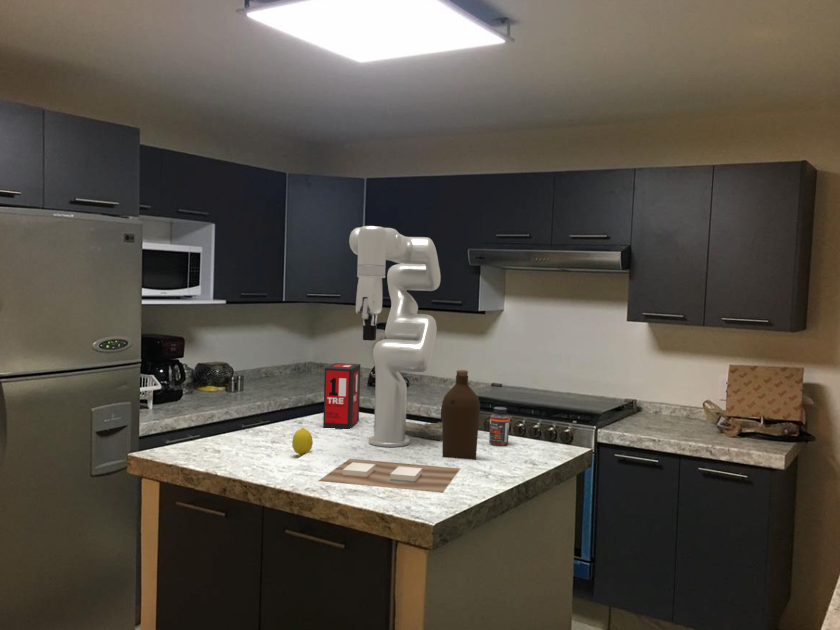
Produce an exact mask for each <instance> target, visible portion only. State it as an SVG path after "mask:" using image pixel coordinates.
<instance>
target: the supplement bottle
mask: <svg viewBox="0 0 840 630" xmlns="http://www.w3.org/2000/svg"><path fill="white" fill-rule="evenodd" d="M507 409H508V408H506V407H503V406H495V407H493V413H492V414H491V415H490V416H489V417H490V418H489V437H488V442H489V444H490V445H491V446H499V447H504V446H507V445H508V444H509V434H510V416H509V415H508V413H507V411H508V410H507Z"/></svg>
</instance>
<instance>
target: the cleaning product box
mask: <svg viewBox="0 0 840 630" xmlns="http://www.w3.org/2000/svg"><path fill="white" fill-rule="evenodd" d="M323 382H324V385H323V386H324V387H323V388H324V390H323V392H324V393H323V419H322V420H323V421H322V422H323V423H322V427H323V428H335V429H334V430H342V429H350V428H351V429H353V427H354V426H355V425H356V424H358V423H359V420H360V397H361V396H360V393H361V392H360V390H361V389H360V388H361V387H360V386H361V363H341V362H340V363H339V362H338V363H337V362H335V363H332V364H330V365H329V366H327V367H325V368H324V381H323ZM323 428H322V429H323ZM351 429H350V430H351Z"/></svg>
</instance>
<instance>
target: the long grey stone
mask: <svg viewBox="0 0 840 630" xmlns="http://www.w3.org/2000/svg"><path fill="white" fill-rule="evenodd" d="M405 436H411V437H420V438H424V439H429V440H431V441H432V440H436V441H439V442H443V438H442V421H441V422H440V421H438V422H436V423H435V422H432V423H419V422H418V423H417V422H410V421H406V427H405Z"/></svg>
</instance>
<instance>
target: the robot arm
mask: <svg viewBox="0 0 840 630" xmlns="http://www.w3.org/2000/svg"><path fill="white" fill-rule="evenodd" d="M348 242H349V248H350V249H351V251H352V253H353V254H355V255H356V256H357V274H356V277H357V278H358V281H357V282H358V283H357V289H356V300H355V313H356V314H358V315H360V314H361V318H362V324H363V325H362V340H363V341H372V342H373V341H376V339H377V319H378V314H381V312H382V311H383V279H385V278H386V277H387V280H386V281H387V286H388V287H387V288H388V293H389V297H390V302H391V304H390V305H391V307H390V310H389V314H388V318H387V321H386V324H385V330H384V331H385V333H384V334H385V338H386V339H381V340H379V341H377V342H376V344H374V346H373V350H372V351H373V353H372V354H373V362H374V363H373V364H374V371H375V372H374V373H375V385H374V386H375V387H374V388H375V394H374V420H373V423H374V425H373V426H374V429H373V436H371V437H369V438H368V443H369V444H370V445H373V446H376V447H377V446H378V447H386V448H387V447H388V448H393V447H394V448H395V447H398V448H399V447H404V446H408V445H410V444H411V439H410V438H409V437H407V436H406V435H405V427H406V422H407V421H406V420H407V398H408V397H407V396H408V395H407V394H408V393H407V390H408V387H407V383H406V380H405V379H404V377H403V376H402V374H401V373H400V372H405V373H406V372H408V373H409V372H410V373H423V372H424V373H425V372H426V371H427V370H429V367H430V365H431V361H432V357H433V353H434V348H435V343H436V339H437V327H438V326H437V321H436V319H435V318H434V317H433V316H432V315H430V314H426V313H425V314H424V313H418V310H419V305H418V303H417V301H416V300H415V298H414V297H413V296H412V295H411V294H410V293H409V292H407V291H421V292H423V291H425V292H426V291H428V292H432V291H435V290H437V289H438V288H439V287H440V284H441V277H442V276H441V269H440V264H439V258H438V253H437V249H436V246H435V244H434V242H433V239H431V238H430V237H425V236H405V235H403V234H401V233H399V232H398V230H397V229H395V228H391V227H383V226H377V225H376V226H375V225H363V226H361V227H355V228H354V229H353V230H351V232H350V235H349V241H348ZM386 261H389V262H390V261H391V262H394V263H396V264H394V265H391V266H390V267H389V268H388V270H387V276H386Z"/></svg>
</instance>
